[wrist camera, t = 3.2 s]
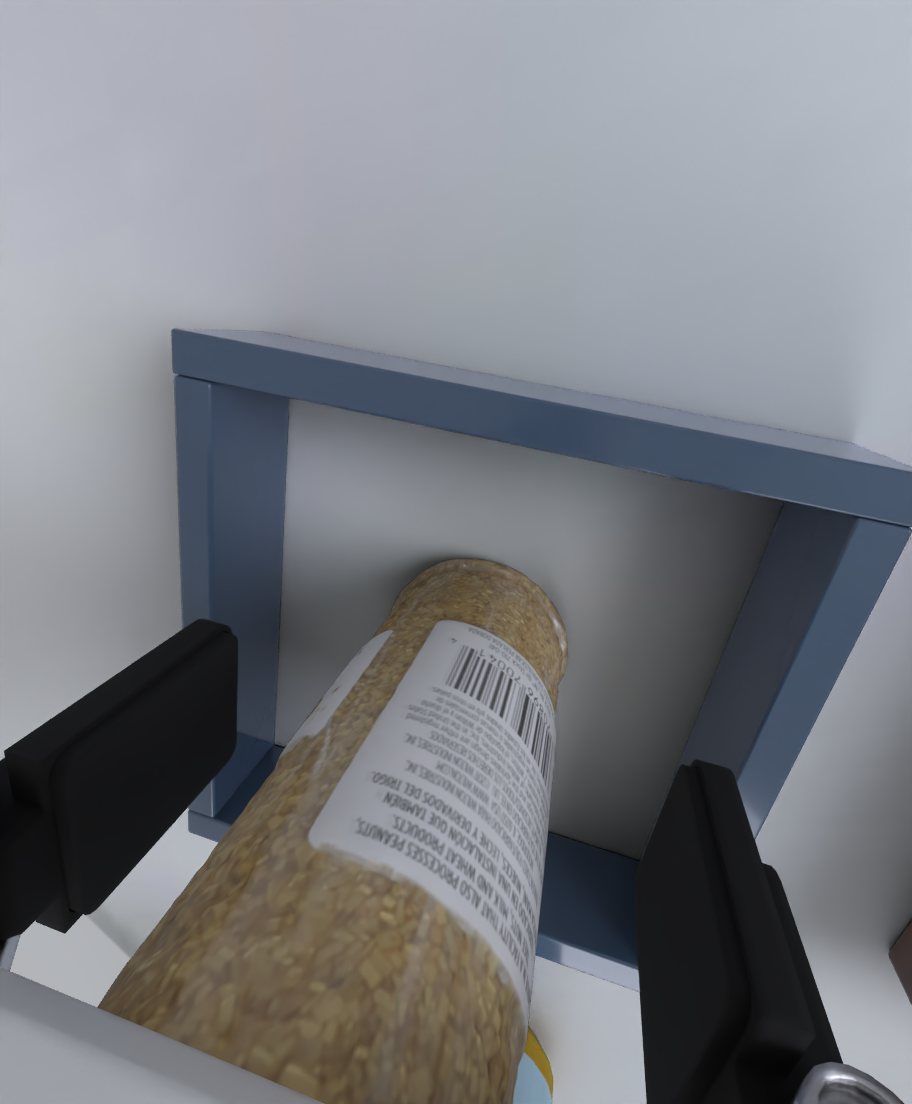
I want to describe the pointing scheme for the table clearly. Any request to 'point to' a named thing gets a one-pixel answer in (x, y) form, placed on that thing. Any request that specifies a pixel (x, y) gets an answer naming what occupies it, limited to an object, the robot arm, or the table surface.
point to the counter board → (903, 960)
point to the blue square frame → (567, 429)
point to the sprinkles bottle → (383, 867)
